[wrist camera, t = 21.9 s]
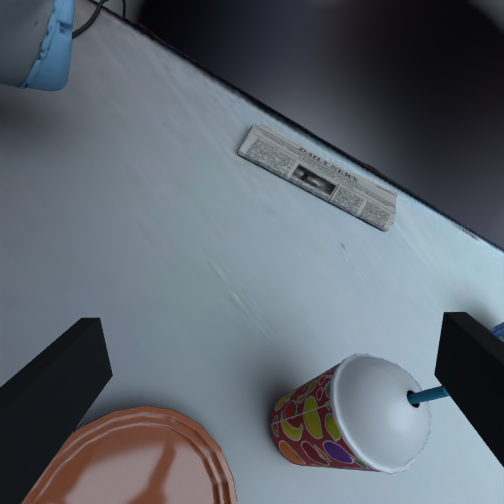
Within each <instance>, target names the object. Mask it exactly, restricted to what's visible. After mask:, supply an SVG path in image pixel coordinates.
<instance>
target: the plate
mask: <svg viewBox="0 0 504 504" xmlns="http://www.w3.org/2000/svg"><path fill="white" fill-rule="evenodd" d="M21 504H237V497H236V491H235V485H234V479H233V476H232V474H231V471H230V469H229V467H228V464H227V462H226V460H225V458H224V455H223V453H222V451H221V448H220V447H219V445H218V444H217V443H216V442H215V441H214V440H213V439H212V437H211V436H210V435H209V434H208V433H207V432H206V431H205V429H204V428H203V427H202V426H201V425H200V424H199V423H197V422H195V421H193V420H192V419H190V418H188V417H186V416H184V415H183V414H181V413H179V412H177V411H175V410H171V409H164V408H158V407H152V406H140V407H134V408H129V409H123V410H118V411H113V412H110V413H108V414H107V415H105V416H103V417H101V418H99V419H97V420H95V421H93V422H91V423H89V424H87V425H85V426H83V427H81V428H79V429H77V430H76V431H75V432H74V433H73V434H72V435H70V436H69V437H68V439H67V440H66V441H65V443H64V444H63V446H62V447H61V448H60V450H59V451H58V453H57V454H56V455H55V457H54V458H53V460H52V461H51V462H50V464H49V465H48V467H47V468H46V469H45V471H44V472H43V474H42V475H41V476H40V478H39V479H38V481H37V482H36V483H35V485H34V486H33V488H32V489H31V490H30V492H29V493H28V495H27V496H26V497H25V499H24V500H23V501H22V503H21Z"/></svg>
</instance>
